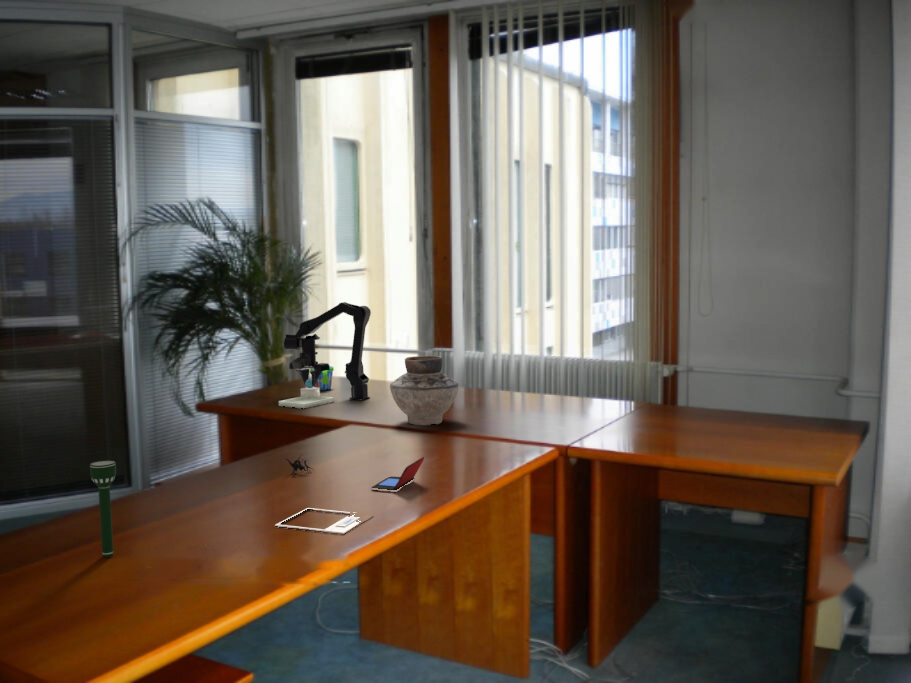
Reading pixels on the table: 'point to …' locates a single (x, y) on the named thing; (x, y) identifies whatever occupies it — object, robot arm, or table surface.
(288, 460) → the creature
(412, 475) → the handheld game console
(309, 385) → the ball
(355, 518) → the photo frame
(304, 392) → the cup
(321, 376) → the snack cup
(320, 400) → the tray
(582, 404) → the table surface
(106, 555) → the flashlight
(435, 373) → the ceramic pot
